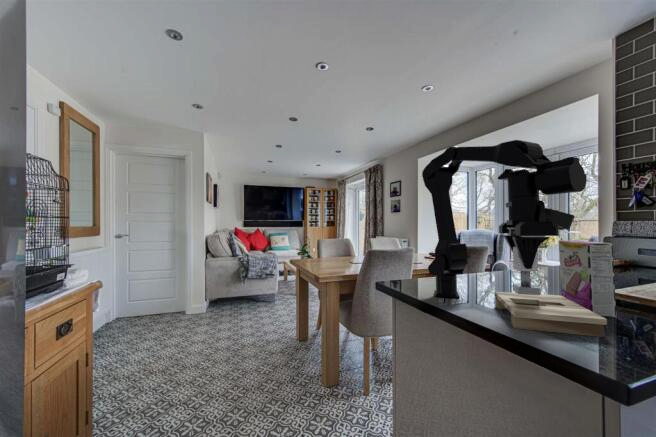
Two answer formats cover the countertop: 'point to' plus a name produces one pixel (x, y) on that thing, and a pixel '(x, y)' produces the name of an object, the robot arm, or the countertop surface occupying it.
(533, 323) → the keyhole plate
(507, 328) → the countertop surface
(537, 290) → the peg
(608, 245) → the candy bar box
